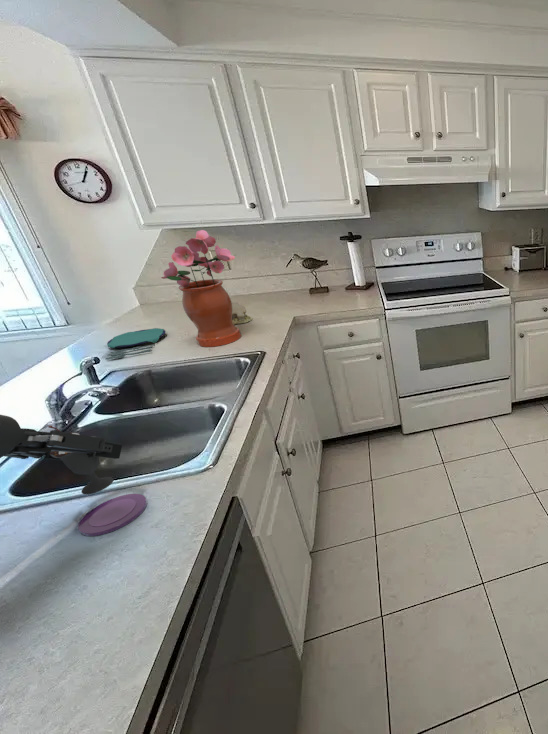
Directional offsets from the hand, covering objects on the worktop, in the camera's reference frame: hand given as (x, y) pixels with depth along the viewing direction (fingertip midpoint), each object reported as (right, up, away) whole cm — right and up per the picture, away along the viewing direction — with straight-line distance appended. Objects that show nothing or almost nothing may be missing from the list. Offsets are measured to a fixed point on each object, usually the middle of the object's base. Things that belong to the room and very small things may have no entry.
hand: (99, 453), depth 84 cm
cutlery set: (-71, +25, +89) cm, 117 cm away
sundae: (+1, -7, -1) cm, 7 cm away
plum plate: (+1, -14, +3) cm, 14 cm away
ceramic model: (-44, +37, +112) cm, 126 cm away
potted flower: (-36, +27, +92) cm, 102 cm away
